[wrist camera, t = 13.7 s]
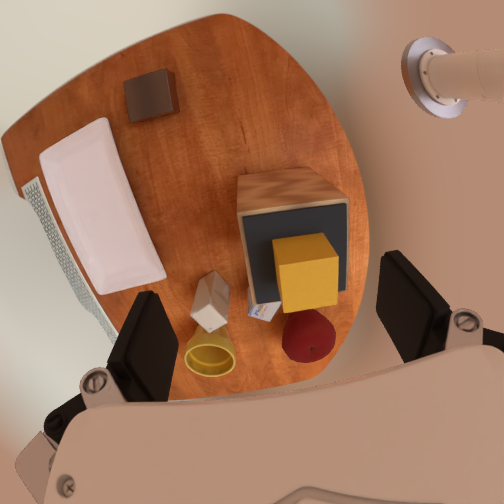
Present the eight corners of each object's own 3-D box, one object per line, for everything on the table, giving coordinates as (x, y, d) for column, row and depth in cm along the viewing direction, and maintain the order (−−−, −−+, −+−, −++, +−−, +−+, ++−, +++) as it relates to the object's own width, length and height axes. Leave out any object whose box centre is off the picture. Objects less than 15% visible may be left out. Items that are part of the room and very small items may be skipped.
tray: (114, 114, 39) (105, 114, 36) (171, 270, 53) (167, 280, 50) (47, 152, 40) (36, 155, 37) (104, 287, 54) (98, 296, 51)
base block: (173, 73, 36) (166, 68, 32) (180, 111, 40) (173, 111, 35) (134, 84, 37) (122, 81, 32) (140, 122, 40) (129, 123, 35)
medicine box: (266, 295, 56) (270, 323, 49) (246, 288, 55) (247, 316, 48) (284, 263, 53) (291, 289, 45) (262, 255, 52) (266, 281, 44)
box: (230, 286, 55) (229, 324, 45) (214, 297, 56) (209, 334, 46) (214, 268, 53) (209, 304, 43) (197, 279, 54) (189, 315, 44)
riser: (308, 166, 45) (349, 197, 28) (313, 231, 50) (347, 290, 33) (237, 175, 45) (236, 212, 28) (248, 240, 51) (252, 306, 34)
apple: (278, 337, 62) (284, 376, 51) (277, 300, 57) (284, 340, 47) (324, 331, 62) (337, 368, 51) (328, 294, 57) (344, 332, 47)
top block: (323, 232, 29) (339, 256, 24) (324, 275, 32) (337, 304, 27) (271, 239, 29) (278, 265, 24) (277, 282, 32) (283, 313, 27)
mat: (345, 202, 28) (346, 204, 28) (344, 288, 33) (345, 290, 33) (241, 216, 28) (242, 218, 28) (256, 302, 33) (256, 304, 33)
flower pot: (244, 335, 61) (245, 368, 52) (207, 350, 63) (204, 382, 54) (218, 304, 57) (216, 337, 48) (180, 322, 59) (172, 354, 50)
